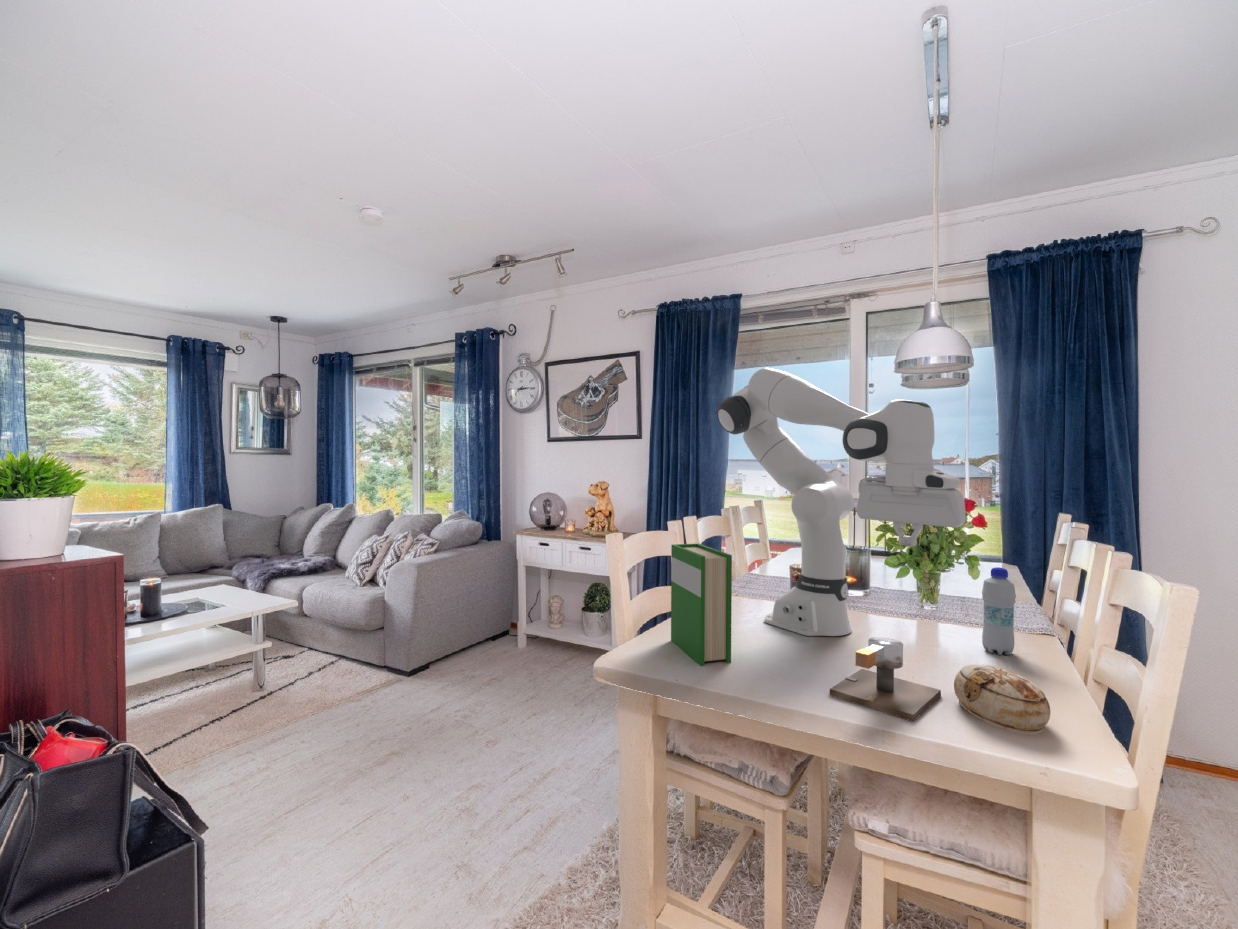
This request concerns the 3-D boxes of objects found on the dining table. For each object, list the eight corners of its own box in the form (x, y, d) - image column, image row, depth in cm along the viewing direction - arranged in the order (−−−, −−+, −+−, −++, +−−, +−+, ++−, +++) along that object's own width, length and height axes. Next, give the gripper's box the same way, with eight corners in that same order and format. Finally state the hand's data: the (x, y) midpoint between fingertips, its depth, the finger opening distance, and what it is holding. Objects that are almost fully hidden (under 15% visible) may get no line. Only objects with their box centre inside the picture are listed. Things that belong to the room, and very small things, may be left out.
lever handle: (876, 655, 112) (876, 634, 111) (908, 663, 107) (908, 641, 107) (845, 671, 103) (845, 649, 103) (878, 681, 98) (878, 657, 98)
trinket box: (963, 691, 110) (964, 651, 110) (1059, 718, 99) (1060, 673, 99) (939, 712, 101) (940, 668, 101) (1042, 744, 90) (1043, 695, 90)
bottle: (1011, 649, 134) (1013, 566, 134) (1018, 658, 128) (1019, 571, 128) (978, 645, 137) (979, 563, 136) (983, 654, 131) (984, 568, 130)
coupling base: (829, 695, 108) (829, 664, 107) (861, 674, 118) (862, 646, 118) (913, 721, 97) (913, 687, 97) (940, 696, 107) (940, 665, 107)
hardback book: (731, 662, 124) (731, 555, 124) (700, 666, 122) (701, 556, 122) (698, 638, 141) (698, 543, 141) (670, 640, 139) (671, 544, 139)
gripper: (852, 476, 121) (851, 540, 121) (958, 480, 106) (957, 553, 106) (865, 475, 125) (864, 537, 125) (969, 479, 110) (967, 549, 110)
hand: (907, 545), depth 115 cm, fingers closed
